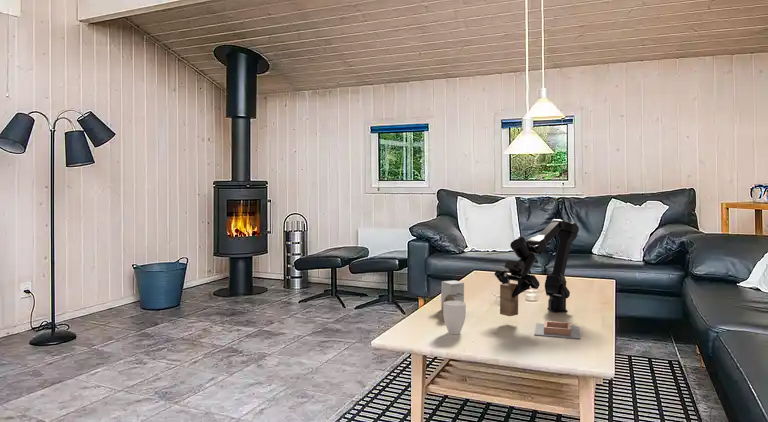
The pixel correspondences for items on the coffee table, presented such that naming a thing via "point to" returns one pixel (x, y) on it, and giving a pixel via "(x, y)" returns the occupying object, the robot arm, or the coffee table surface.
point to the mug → (454, 316)
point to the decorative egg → (448, 299)
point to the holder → (557, 330)
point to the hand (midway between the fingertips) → (506, 295)
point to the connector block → (508, 300)
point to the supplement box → (452, 290)
